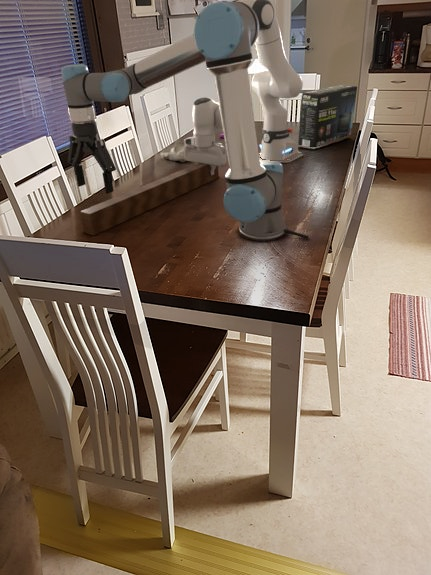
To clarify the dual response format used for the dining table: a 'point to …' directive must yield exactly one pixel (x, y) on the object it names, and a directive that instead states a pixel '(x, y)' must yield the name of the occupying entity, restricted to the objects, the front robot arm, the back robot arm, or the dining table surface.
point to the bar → (144, 198)
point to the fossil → (175, 153)
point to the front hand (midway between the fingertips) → (95, 188)
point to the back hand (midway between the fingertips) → (205, 173)
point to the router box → (326, 115)
